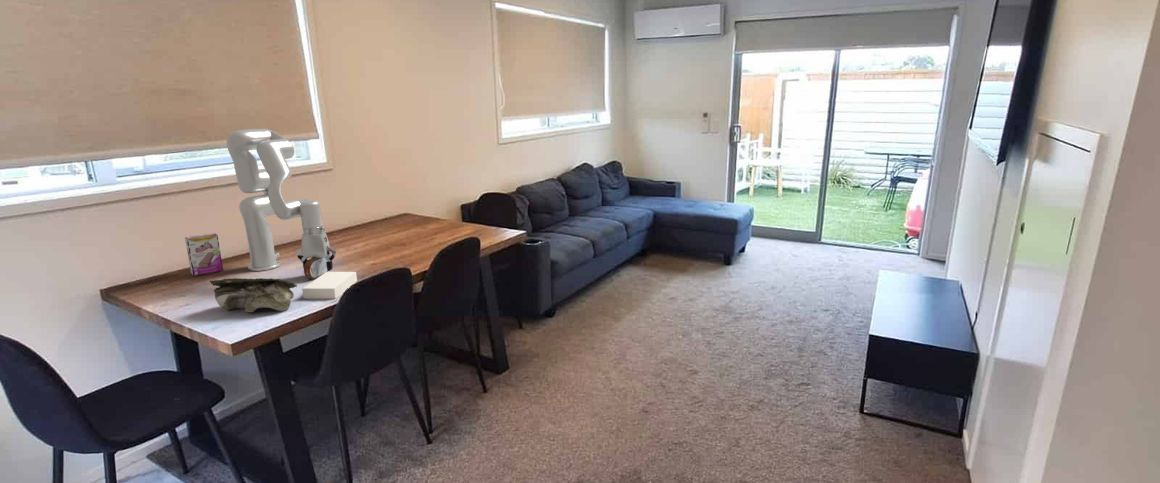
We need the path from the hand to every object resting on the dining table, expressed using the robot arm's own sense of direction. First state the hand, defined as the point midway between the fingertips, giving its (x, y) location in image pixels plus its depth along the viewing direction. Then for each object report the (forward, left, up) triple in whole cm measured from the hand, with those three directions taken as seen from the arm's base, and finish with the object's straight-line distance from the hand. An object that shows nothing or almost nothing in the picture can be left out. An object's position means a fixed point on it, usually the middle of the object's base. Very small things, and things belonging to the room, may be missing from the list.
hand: (318, 270), depth 231 cm
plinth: (+17, +13, -3) cm, 21 cm away
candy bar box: (-4, -50, -3) cm, 50 cm away
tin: (0, 0, -3) cm, 3 cm away
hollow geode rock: (+36, -6, -3) cm, 37 cm away
